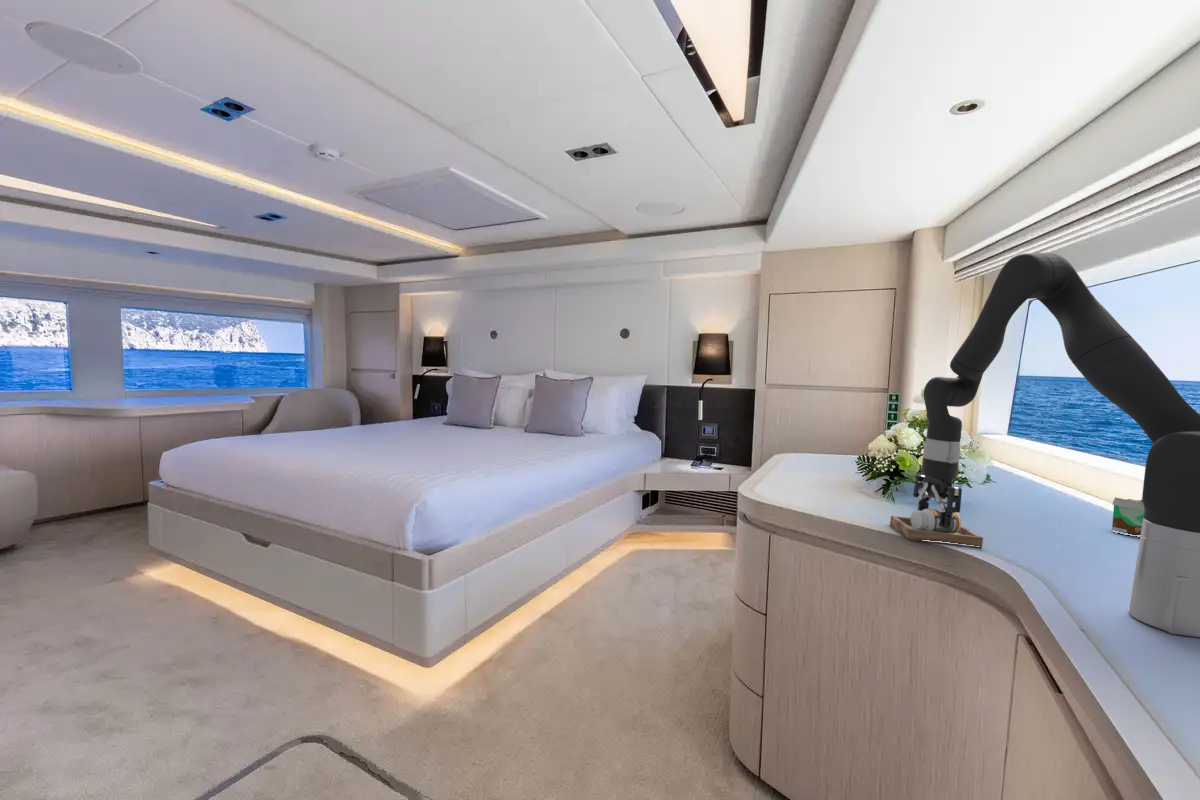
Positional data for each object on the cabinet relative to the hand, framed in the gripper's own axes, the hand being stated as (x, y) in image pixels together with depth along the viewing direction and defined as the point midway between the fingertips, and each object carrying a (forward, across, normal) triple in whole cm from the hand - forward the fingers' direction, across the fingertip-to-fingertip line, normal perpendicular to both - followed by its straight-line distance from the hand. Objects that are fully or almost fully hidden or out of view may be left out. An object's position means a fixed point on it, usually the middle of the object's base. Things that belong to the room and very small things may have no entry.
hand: (933, 521), depth 131 cm
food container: (+4, -12, +66) cm, 67 cm away
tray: (+4, 0, 0) cm, 4 cm away
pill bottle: (0, -1, +6) cm, 6 cm away
